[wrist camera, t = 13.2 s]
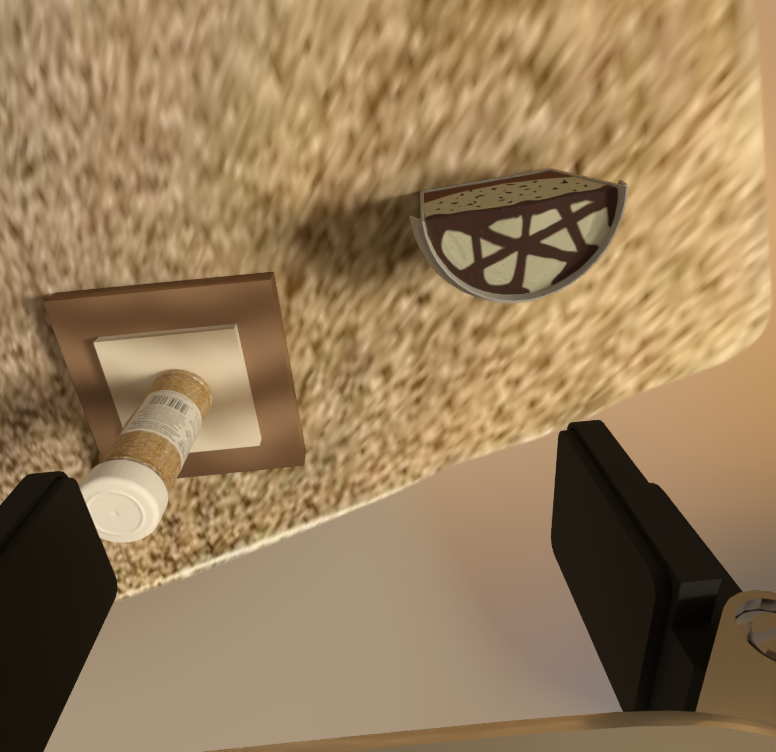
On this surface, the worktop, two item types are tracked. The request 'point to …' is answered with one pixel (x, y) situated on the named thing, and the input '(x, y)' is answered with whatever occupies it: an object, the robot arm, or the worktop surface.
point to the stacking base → (187, 364)
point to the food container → (518, 232)
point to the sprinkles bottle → (146, 458)
